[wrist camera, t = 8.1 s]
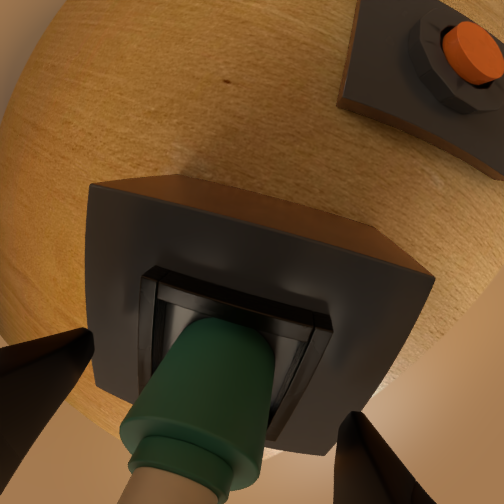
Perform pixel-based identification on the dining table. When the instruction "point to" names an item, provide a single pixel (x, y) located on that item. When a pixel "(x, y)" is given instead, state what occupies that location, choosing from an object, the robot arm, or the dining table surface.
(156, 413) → the bottle
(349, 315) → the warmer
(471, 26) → the button
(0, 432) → the robot arm
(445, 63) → the control
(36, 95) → the dining table surface
